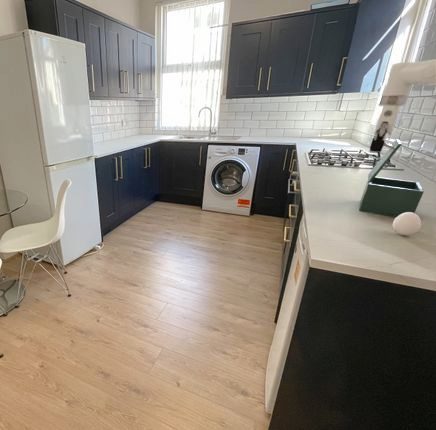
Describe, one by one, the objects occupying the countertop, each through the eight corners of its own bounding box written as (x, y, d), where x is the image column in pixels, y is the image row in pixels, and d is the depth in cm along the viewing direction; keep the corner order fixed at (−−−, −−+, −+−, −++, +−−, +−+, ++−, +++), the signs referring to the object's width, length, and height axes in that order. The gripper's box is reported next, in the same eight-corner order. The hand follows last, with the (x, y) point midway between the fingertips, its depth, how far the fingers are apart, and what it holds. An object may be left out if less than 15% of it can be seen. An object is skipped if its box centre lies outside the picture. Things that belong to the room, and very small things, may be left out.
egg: (384, 232, 91) (393, 210, 88) (396, 229, 93) (405, 208, 90) (408, 240, 86) (418, 217, 83) (420, 237, 87) (430, 214, 85)
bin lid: (399, 139, 107) (383, 134, 109) (401, 144, 96) (384, 138, 99) (370, 175, 115) (356, 170, 118) (370, 183, 104) (354, 177, 107)
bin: (407, 208, 111) (418, 182, 107) (411, 220, 100) (423, 191, 96) (360, 200, 120) (369, 176, 116) (358, 210, 109) (368, 183, 105)
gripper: (408, 101, 92) (389, 153, 98) (404, 101, 104) (387, 148, 110) (378, 101, 96) (361, 151, 103) (377, 101, 108) (362, 146, 115)
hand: (375, 149), depth 107 cm, fingers open, 9 cm apart
